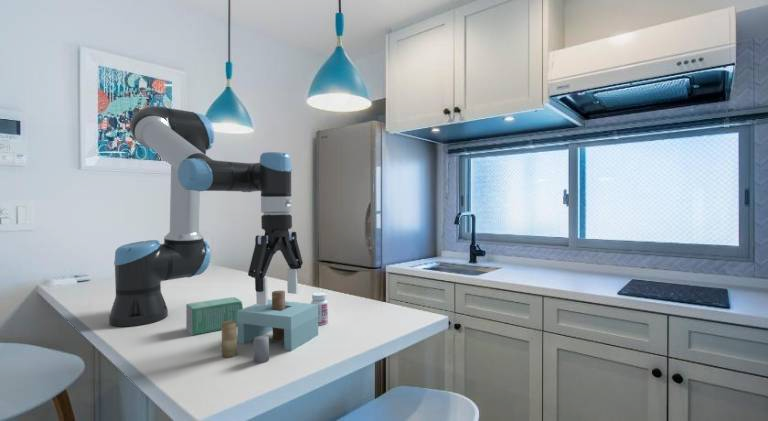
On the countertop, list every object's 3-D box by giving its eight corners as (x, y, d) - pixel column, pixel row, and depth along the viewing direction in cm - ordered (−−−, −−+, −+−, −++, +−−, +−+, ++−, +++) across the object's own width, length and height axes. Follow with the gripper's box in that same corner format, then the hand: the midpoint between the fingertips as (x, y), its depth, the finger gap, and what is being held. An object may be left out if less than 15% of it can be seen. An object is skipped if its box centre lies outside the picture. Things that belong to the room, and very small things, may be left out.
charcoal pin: (250, 362, 87) (250, 339, 87) (260, 356, 90) (260, 334, 90) (262, 364, 86) (262, 341, 86) (272, 358, 89) (271, 336, 88)
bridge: (237, 342, 99) (236, 310, 99) (268, 328, 110) (267, 299, 110) (291, 350, 93) (290, 316, 93) (318, 334, 104) (317, 304, 104)
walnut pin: (270, 339, 101) (269, 292, 100) (277, 335, 104) (277, 290, 103) (280, 341, 100) (279, 293, 99) (288, 337, 103) (287, 291, 102)
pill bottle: (324, 326, 112) (324, 296, 111) (308, 325, 113) (308, 295, 112) (330, 321, 116) (329, 292, 116) (314, 320, 117) (314, 291, 117)
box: (243, 325, 113) (243, 299, 113) (192, 336, 104) (191, 308, 104) (235, 320, 119) (234, 295, 118) (185, 330, 110) (185, 303, 110)
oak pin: (218, 356, 90) (218, 323, 90) (229, 351, 93) (228, 319, 93) (230, 358, 89) (229, 325, 89) (240, 353, 92) (239, 321, 92)
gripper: (256, 215, 88) (258, 312, 89) (314, 212, 111) (315, 289, 111) (230, 215, 91) (232, 309, 92) (292, 212, 114) (293, 287, 114)
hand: (278, 298), depth 101 cm, fingers open, 12 cm apart
